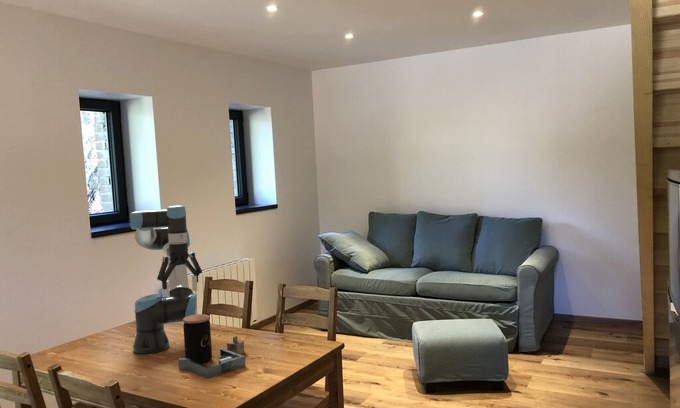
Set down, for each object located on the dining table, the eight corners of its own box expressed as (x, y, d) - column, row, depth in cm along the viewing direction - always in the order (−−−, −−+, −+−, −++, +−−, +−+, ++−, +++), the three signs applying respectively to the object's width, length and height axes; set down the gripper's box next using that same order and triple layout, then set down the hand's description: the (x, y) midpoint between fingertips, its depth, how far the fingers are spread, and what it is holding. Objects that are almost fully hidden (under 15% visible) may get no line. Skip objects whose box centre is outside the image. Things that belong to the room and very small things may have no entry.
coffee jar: (205, 365, 225) (202, 321, 224) (180, 365, 227) (178, 321, 226) (216, 356, 235) (214, 314, 234) (192, 356, 238) (190, 313, 236)
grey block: (227, 355, 237) (226, 337, 237) (234, 351, 242) (233, 334, 241) (237, 356, 235) (236, 338, 235) (244, 352, 240) (243, 335, 239)
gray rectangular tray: (178, 368, 223) (177, 355, 222) (222, 355, 237) (222, 342, 237) (203, 380, 209) (202, 366, 209) (249, 364, 224) (248, 352, 224)
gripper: (155, 247, 225) (158, 300, 226) (208, 239, 242) (211, 289, 244) (146, 246, 230) (149, 298, 232) (199, 238, 247) (201, 286, 249)
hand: (181, 293), depth 238 cm, fingers open, 12 cm apart
